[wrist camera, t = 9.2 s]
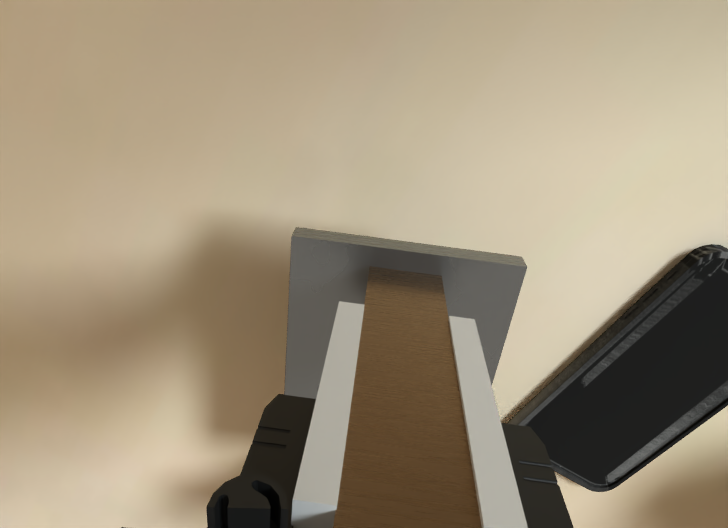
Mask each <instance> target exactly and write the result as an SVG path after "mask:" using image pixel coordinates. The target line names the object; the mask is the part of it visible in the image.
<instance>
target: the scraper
mask: <svg viewBox="0 0 728 528" xmlns="http://www.w3.org/2000/svg"><path fill="white" fill-rule="evenodd" d="M526 269H527V266H526V264H525V262H524V260H523V258H522V257H520V256H512V255H504V254H497V253H489V252H482V251H474V250H466V249H459V248H451V247H444V246H436V245H428V244H421V243H413V242H405V241H398V240H390V239H383V238H375V237H367V236H360V235H352V234H345V233H337V232H329V231H322V230H314V229H307V228H299V227H296V229H295V231H294V232H293V234H292V239H291V261H290V283H289V305H288V327H287V349H286V371H285V393H284V395H290V396H297V397H305V398H312V399H316V398H317V394H318V389H319V385H320V381H321V376H322V372H323V368H324V364H325V359H326V355H327V351H328V347H329V342H330V338H331V334H332V330H333V325H334V321H335V317H336V312H337V308H338V304H339V301H341V302H349V303H356V304H364V305H365V306H364V313H363V320H362V328H361V335H360V342H359V350H358V357H357V364H356V372H355V379H354V386H353V394H352V401H351V408H350V415H349V423H348V430H347V437H346V445H345V452H344V459H343V467H342V474H341V481H340V488H339V496H338V503H337V510H335V517H334V525H333V528H482V525H481V519H480V513H479V507H478V500H477V494H476V488H475V482H474V476H473V469H472V463H471V457H470V451H469V445H468V439H467V432H466V426H465V420H464V414H463V408H462V401H461V395H460V389H459V383H458V377H457V370H456V364H455V358H454V352H453V346H452V340H451V333H450V327H449V321H448V318H449V316H455V317H462V318H470V319H475V323H476V326H477V330H478V334H479V338H480V342H481V346H482V350H483V354H484V358H485V362H486V366H487V370H488V374H489V377H490V381H491V385H492V383H493V379H494V376H495V373H496V369H497V366H498V363H499V359H500V356H501V353H502V349H503V346H504V343H505V339H506V336H507V333H508V329H509V326H510V323H511V319H512V316H513V313H514V309H515V306H516V303H517V299H518V296H519V293H520V289H521V286H522V283H523V279H524V276H525V273H526Z"/></svg>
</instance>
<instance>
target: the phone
mask: <svg viewBox="0 0 728 528" xmlns="http://www.w3.org/2000/svg"><path fill="white" fill-rule="evenodd" d="M727 405H728V249H727V248H725V247H723V246H721V245H713V244H711V245H705V246H702V247H699V248H697V249H695V250H693V251H692V252H691V253H689V254H688V255H687V256H686V257H685V258H684V259H682V260H681V261H680V262H679V263H678V264H677V265H676V266H675V267H674V268H673V269H672V270H671V271H670V272H669V273H667V274H666V275H665V276H664V277H663V278H662V279H661V280H660V281H659V282H658V283H657V284H656V285H655V286H654V287H652V288H651V289H650V290H649V291H648V292H647V293H646V294H645V295H644V296H643V297H642V298H641V299H640V300H638V301H637V302H636V303H635V304H634V305H633V306H632V307H631V308H630V309H629V310H628V311H627V312H626V313H625V314H623V315H622V316H621V317H620V318H619V319H618V320H617V321H616V322H615V323H614V324H613V325H612V326H611V327H609V328H608V329H607V330H606V331H605V332H604V333H603V334H602V335H601V336H600V337H599V338H598V339H597V340H596V341H594V342H593V343H592V344H591V345H590V346H589V347H588V348H587V349H586V350H585V351H584V352H583V353H582V354H580V355H579V356H578V357H577V358H576V359H575V360H574V361H573V362H572V363H571V364H570V365H569V366H568V367H567V368H565V369H564V370H563V371H562V372H561V373H560V374H559V375H558V376H557V377H556V378H555V379H554V380H553V381H551V382H550V383H549V384H548V385H547V386H546V387H545V388H544V389H543V390H542V391H541V392H540V393H539V394H538V395H536V396H535V397H534V398H533V399H532V400H531V401H530V402H529V403H528V404H527V405H526V406H525V407H524V408H522V409H521V410H520V411H519V412H518V413H517V414H516V415H515V416H514V417H513V418H512V419H511V420H510V421H509V422H508V424H513V425H520V426H528V427H531V428H532V430H533V431H534V432H535V433H536V435H537V436H538V437H539V438H540V440H541V441H542V442H543V443H544V445H545V447H546V450H547V453H548V456H549V459H550V462H551V464H552V465H551V468H552V469H553V470H554V471H555V472H557V473H559V474H561V475H563V476H565V477H566V478H568V479H570V480H572V481H574V482H576V483H577V484H579V485H581V486H583V487H585V488H586V489H589V490H591V491H595V492H605V491H609V490H612V489H614V488H615V487H617V486H619V485H620V484H621V483H623V482H624V481H625V480H627V479H628V478H629V477H631V476H632V475H634V474H635V473H636V472H638V471H639V470H640V469H642V468H643V467H644V466H646V465H647V464H649V463H650V462H651V461H653V460H654V459H655V458H657V457H658V456H659V455H661V454H662V453H664V452H665V451H666V450H668V449H669V448H670V447H672V446H673V445H674V444H676V443H677V442H678V441H680V440H681V439H683V438H684V437H685V436H687V435H688V434H689V433H691V432H692V431H693V430H695V429H696V428H698V427H699V426H700V425H702V424H703V423H704V422H706V421H707V420H708V419H710V418H711V417H713V416H714V415H715V414H717V413H718V412H719V411H721V410H722V409H723V408H725V407H726V406H727Z"/></svg>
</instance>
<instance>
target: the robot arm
mask: <svg viewBox="0 0 728 528" xmlns="http://www.w3.org/2000/svg"><path fill="white" fill-rule="evenodd" d="M364 306H365V305H364V304H356V303H349V302H341V301H339V304H338V308H337V312H336V317H335V321H334V325H333V330H332V334H331V338H330V342H329V347H328V351H327V355H326V359H325V364H324V368H323V372H322V376H321V381H320V385H319V389H318V394H317V398H316V399H312V398H305V397H297V396H290V395H283V394H278V395H277V396H276V397H275V398H274V399H273V400H272V401H271V402H270V403H269V404H268V405H267V406H266V407H265V409H264V412H263V414H262V417H261V420H260V423H259V425H258V429H257V431H256V434H255V436H254V439H253V443H252V444H251V447H250V450H249V453H248V455H247V458H246V461H245V464H244V466H243V469H242V472H241V474H240V476H238V477H235V478H233V479H231V480H229V481H227V482H225V483H224V484H223V485H222V486H221V487H220V488H219V489H217V490H216V491H215V492H214V493H213V495H212V497H211V499H210V501H209V503H208V505H207V523H208V527H207V528H333V525H334V517H335V510H337V503H338V496H339V488H340V481H341V474H342V467H343V459H344V452H345V445H346V437H347V430H348V423H349V415H350V408H351V401H352V394H353V386H354V379H355V372H356V364H357V357H358V350H359V342H360V335H361V328H362V320H363V313H364ZM448 321H449V327H450V333H451V340H452V346H453V352H454V358H455V364H456V370H457V377H458V383H459V389H460V395H461V401H462V408H463V414H464V420H465V426H466V432H467V439H468V445H469V451H470V457H471V463H472V469H473V476H474V482H475V488H476V494H477V500H478V507H479V513H480V519H481V525H482V528H573V525H572V522H571V519H570V516H569V513H568V510H567V508H566V505H565V502H564V499H563V496H562V493H561V490H560V487H559V485H557V479H556V476H555V473H554V470H553V469H552V468H551V465H552V464H551V462H550V459H549V456H548V453H547V450H546V447H545V445H544V443H543V442H542V441H541V440H540V438H539V437H538V436H537V435H536V433H535V432H534V431H533V430H532V428H531V427H528V426H520V425H513V424H506V423H501V421H500V417H499V413H498V409H497V405H496V401H495V397H494V393H493V389H492V385H491V381H490V377H489V374H488V370H487V366H486V362H485V358H484V354H483V350H482V346H481V342H480V338H479V334H478V330H477V326H476V323H475V319H470V318H462V317H455V316H449V318H448ZM122 528H124V527H122Z"/></svg>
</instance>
